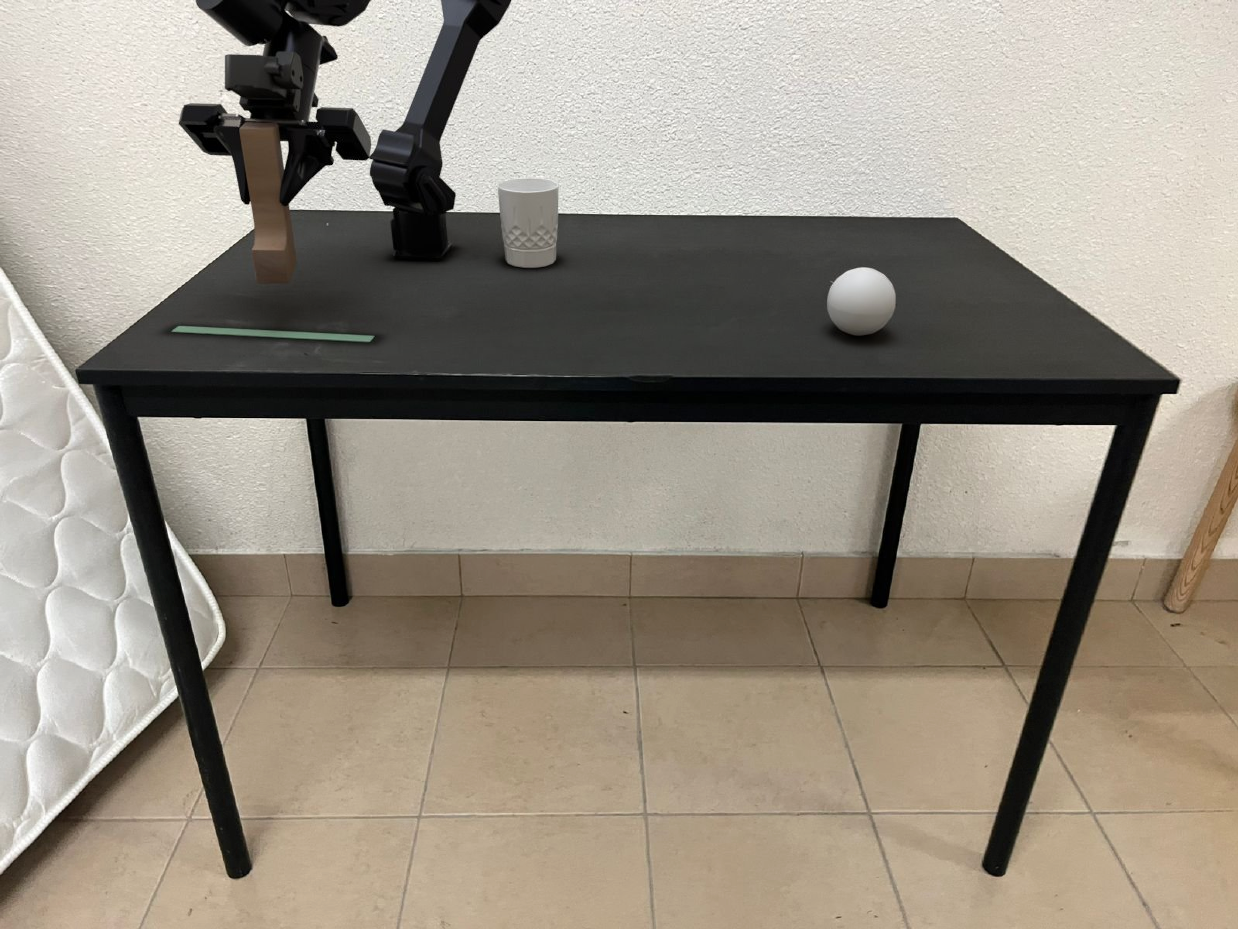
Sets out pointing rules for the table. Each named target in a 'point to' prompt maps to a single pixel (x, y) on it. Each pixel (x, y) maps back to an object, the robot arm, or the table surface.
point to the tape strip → (273, 334)
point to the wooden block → (268, 204)
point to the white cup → (529, 220)
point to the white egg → (861, 301)
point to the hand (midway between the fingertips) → (263, 203)
